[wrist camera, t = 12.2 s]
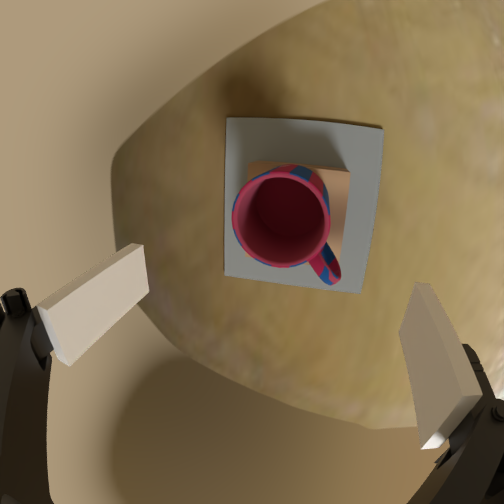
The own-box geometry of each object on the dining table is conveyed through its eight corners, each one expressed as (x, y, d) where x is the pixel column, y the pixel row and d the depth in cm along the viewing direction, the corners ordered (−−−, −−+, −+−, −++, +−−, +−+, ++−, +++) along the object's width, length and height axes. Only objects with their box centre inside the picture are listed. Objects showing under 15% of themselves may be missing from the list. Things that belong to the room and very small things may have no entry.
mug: (302, 149, 23) (294, 151, 17) (360, 245, 25) (370, 279, 19) (240, 189, 26) (212, 205, 20) (298, 278, 27) (289, 317, 21)
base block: (258, 160, 28) (248, 163, 25) (346, 168, 26) (350, 172, 23) (254, 243, 32) (245, 256, 28) (336, 253, 30) (338, 268, 26)
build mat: (227, 117, 28) (226, 117, 27) (383, 129, 24) (384, 129, 24) (225, 273, 34) (224, 275, 34) (360, 292, 31) (360, 293, 31)
